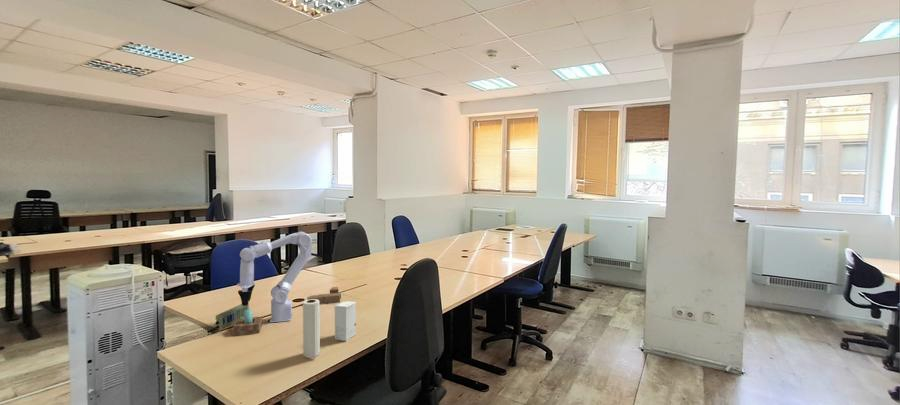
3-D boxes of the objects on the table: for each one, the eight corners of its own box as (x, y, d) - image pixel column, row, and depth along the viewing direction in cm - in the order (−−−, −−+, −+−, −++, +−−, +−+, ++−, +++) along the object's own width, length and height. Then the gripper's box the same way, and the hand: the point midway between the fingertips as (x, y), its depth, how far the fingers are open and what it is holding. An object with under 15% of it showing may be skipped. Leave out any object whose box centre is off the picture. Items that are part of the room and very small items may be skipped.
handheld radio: (250, 315, 195) (212, 334, 170) (244, 315, 195) (205, 334, 171) (249, 302, 194) (211, 319, 170) (243, 302, 195) (204, 319, 170)
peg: (253, 328, 178) (252, 309, 177) (251, 331, 174) (251, 311, 174) (244, 329, 176) (244, 309, 176) (243, 332, 173) (243, 312, 173)
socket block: (262, 324, 182) (262, 316, 181) (259, 333, 172) (259, 324, 172) (238, 327, 178) (237, 318, 178) (233, 335, 169) (233, 326, 169)
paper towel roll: (307, 350, 155) (306, 298, 154) (322, 351, 155) (321, 298, 154) (299, 359, 148) (299, 304, 147) (315, 359, 148) (314, 304, 147)
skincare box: (346, 341, 164) (346, 307, 164) (333, 339, 166) (333, 305, 165) (356, 334, 172) (356, 301, 172) (344, 332, 174) (344, 299, 173)
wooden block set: (341, 293, 216) (307, 296, 210) (341, 303, 216) (307, 306, 210) (339, 285, 232) (307, 287, 226) (339, 294, 232) (307, 297, 226)
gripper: (239, 271, 186) (239, 299, 186) (234, 278, 172) (233, 308, 173) (256, 270, 188) (255, 298, 189) (252, 277, 175) (251, 307, 175)
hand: (246, 303), depth 181 cm, fingers open, 7 cm apart
